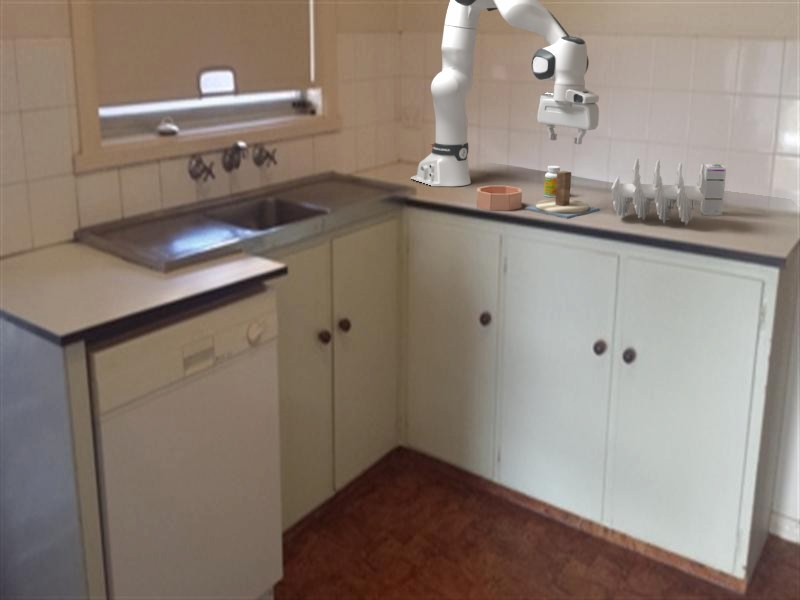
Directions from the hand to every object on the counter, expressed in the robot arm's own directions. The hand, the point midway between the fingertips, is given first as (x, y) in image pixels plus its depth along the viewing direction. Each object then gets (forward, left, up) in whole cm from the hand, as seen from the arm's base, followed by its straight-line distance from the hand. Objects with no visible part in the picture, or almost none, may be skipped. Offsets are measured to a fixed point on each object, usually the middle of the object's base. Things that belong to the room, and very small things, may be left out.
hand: (565, 141), depth 259 cm
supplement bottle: (-15, +14, -21) cm, 29 cm away
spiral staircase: (+27, +9, -21) cm, 36 cm away
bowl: (-17, -10, -21) cm, 28 cm away
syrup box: (+33, +29, -21) cm, 49 cm away
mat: (0, 0, -21) cm, 21 cm away
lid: (0, 0, -20) cm, 20 cm away
